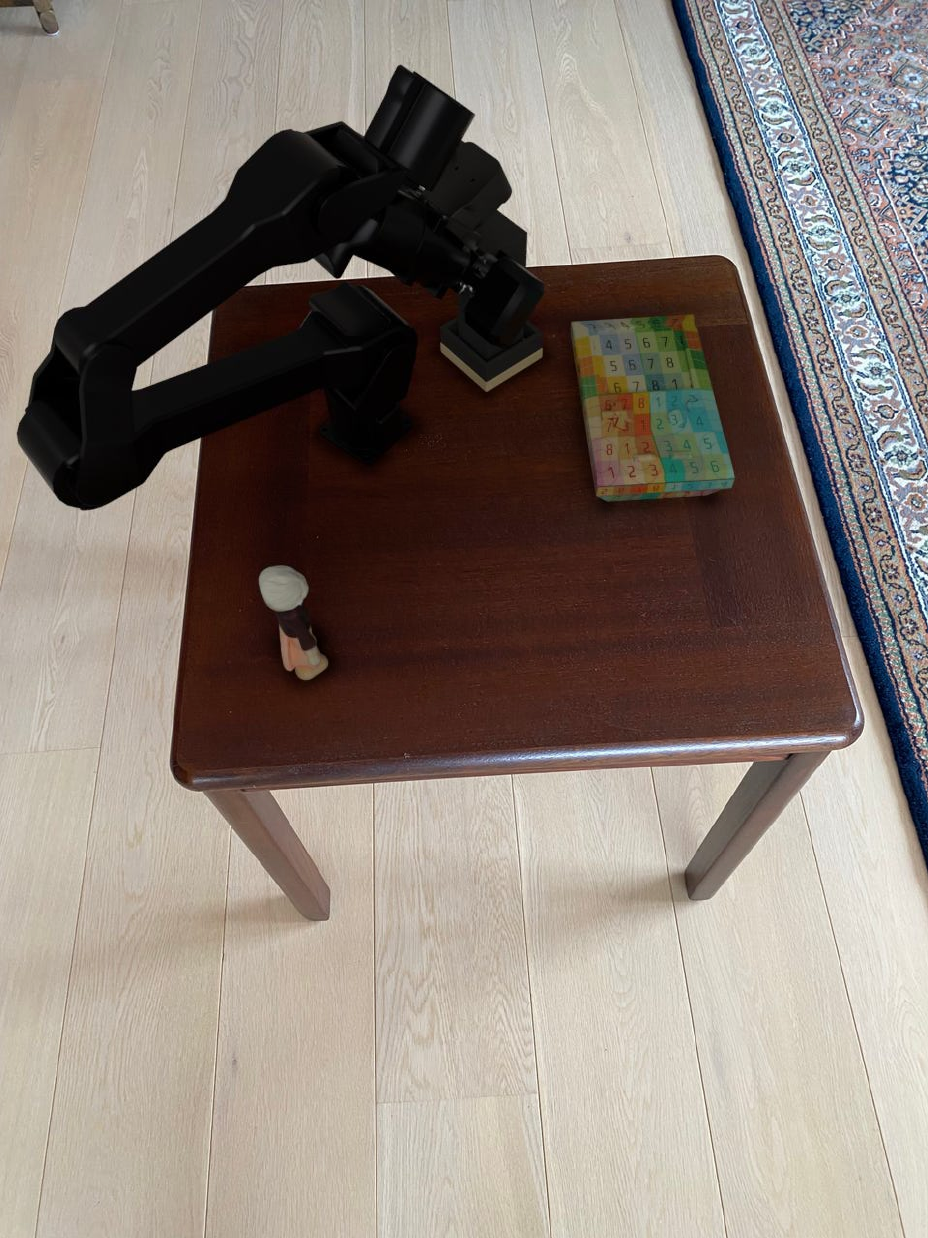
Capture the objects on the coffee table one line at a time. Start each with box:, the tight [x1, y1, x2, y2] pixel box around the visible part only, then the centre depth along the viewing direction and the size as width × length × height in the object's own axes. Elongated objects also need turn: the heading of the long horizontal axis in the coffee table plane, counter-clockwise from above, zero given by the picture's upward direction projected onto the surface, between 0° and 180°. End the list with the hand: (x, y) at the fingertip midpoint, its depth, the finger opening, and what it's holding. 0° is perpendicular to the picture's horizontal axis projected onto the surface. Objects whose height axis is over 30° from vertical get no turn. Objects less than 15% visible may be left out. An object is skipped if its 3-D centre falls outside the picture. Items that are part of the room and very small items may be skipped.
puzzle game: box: [570, 314, 736, 502], centre depth 84 cm, size 12×5×20 cm
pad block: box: [456, 209, 528, 362], centre depth 85 cm, size 4×4×13 cm
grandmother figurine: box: [258, 564, 329, 681], centre depth 70 cm, size 8×4×13 cm, turn 37°
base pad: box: [439, 316, 544, 393], centre depth 90 cm, size 7×7×3 cm
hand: (502, 284), depth 85 cm, fingers closed on pad block, 4 cm apart
